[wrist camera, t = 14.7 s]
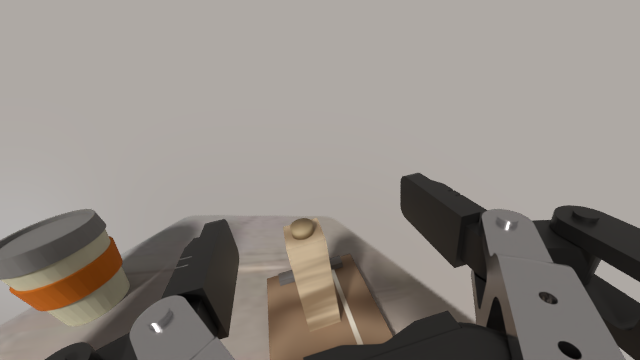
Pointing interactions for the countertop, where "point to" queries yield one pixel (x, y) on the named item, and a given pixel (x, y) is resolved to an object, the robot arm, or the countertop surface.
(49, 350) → the countertop surface
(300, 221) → the wooden pepper mill
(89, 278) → the reusable coffee cup
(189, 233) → the countertop surface
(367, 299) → the walnut board
